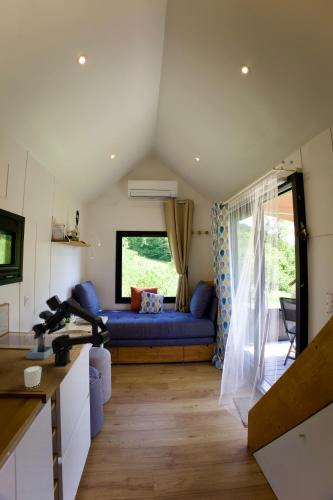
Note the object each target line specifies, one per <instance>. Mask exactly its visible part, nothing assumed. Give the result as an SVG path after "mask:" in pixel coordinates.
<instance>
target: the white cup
mask: <svg viewBox="0 0 333 500" xmlns="http://www.w3.org/2000/svg"><path fill="white" fill-rule="evenodd" d="M42 369H43V367H42V366H41V365H32V366H29V367H26V368H25V369H24V370H23V377H24V387H25V386H26V387H33V386H36V385H38V384H39V383H40V384H41V376H42V371H43V370H42ZM40 384H39V385H40Z"/></svg>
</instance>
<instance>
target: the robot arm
mask: <svg viewBox="0 0 333 500" xmlns="http://www.w3.org/2000/svg"><path fill="white" fill-rule="evenodd" d="M45 304H46V305H47V306H48V308H49V309H50V310H42V311H41V312H40V313H39V314H38V318H39V319H41V320H43V321H44V324H45V326H44V325H43V323H36V324H34V325H33V326H32V328H31V329H32V330H33V332H34V336H33V339H34V340H38V338H39V337H41V336H43V335H44V334H45V335H46V334H47V335H48V336H49V335H51V334H53V333H56V332H58V331H61V330H63V329H65V327H66V326H67V323H66V322H65V320H68V319H71V315H75V316H76V317H78V318H80V319H82V320H84V321H86V323H88V324H90V325H91V334H85V335H77V336H72V337H71V336H70V333H67V334H61V335H58V336H56V337H54V339H52V340H51V344H50V346H52V350H53V354H52V355H54V363H53V366H56V367H57V366H59V367H66V366H68V365H69V364H70V363H71V362H72V360H71V359H70V356H71V350H73V347H74V346H78V345H89V344H90V345H92V346H101V345H103V344H105V343H107V342H109V340H111V333H110V332H109V330H108V327H107V325H106V324H105V323H104V321H103V318H102V317H101V316H99V315H96V314H95V313H93V312H92V311H89V310H87V309H86V308H84V307H82V306H81V305H80V304H79V302H78V301H76V299H72V298H71V299H67V300H63V301H61V300H60V298H59V297H58V295H55V294H54V295H53V296H51V297H50V298H48V299H47V300H46V301H45ZM53 312H54V313H53ZM99 330H100V331H99Z"/></svg>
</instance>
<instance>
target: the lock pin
mask: <svg viewBox="0 0 333 500" xmlns="http://www.w3.org/2000/svg"><path fill="white" fill-rule="evenodd" d="M37 346H38V351H37V352H40V353H44V352H46V350H45V346H46V333H45V334H44V335H43V336H41V337H39V338H37Z"/></svg>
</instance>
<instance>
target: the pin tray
mask: <svg viewBox="0 0 333 500" xmlns="http://www.w3.org/2000/svg"><path fill="white" fill-rule="evenodd" d="M45 350H46V352H44V353H40V352H37V351H38V345H37V346H35V347H32V348H31V349H29V350H27V351H25V359H27V360H42V361H44V360H46V359H48V358H49V357H51V356H53V355H54V354H53V350H52V346H51V345H45Z"/></svg>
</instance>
